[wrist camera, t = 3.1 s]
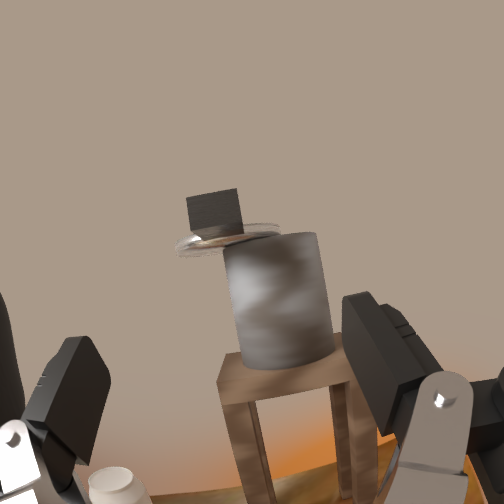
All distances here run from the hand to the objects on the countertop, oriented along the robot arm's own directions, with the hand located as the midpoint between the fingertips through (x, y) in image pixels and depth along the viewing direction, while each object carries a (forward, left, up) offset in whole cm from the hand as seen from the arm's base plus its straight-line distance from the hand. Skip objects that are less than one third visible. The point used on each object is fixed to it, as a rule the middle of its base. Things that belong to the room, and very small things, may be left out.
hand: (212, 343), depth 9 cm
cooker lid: (0, +15, +5) cm, 16 cm away
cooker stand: (+3, +18, -28) cm, 33 cm away
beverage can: (-16, +14, -28) cm, 35 cm away
